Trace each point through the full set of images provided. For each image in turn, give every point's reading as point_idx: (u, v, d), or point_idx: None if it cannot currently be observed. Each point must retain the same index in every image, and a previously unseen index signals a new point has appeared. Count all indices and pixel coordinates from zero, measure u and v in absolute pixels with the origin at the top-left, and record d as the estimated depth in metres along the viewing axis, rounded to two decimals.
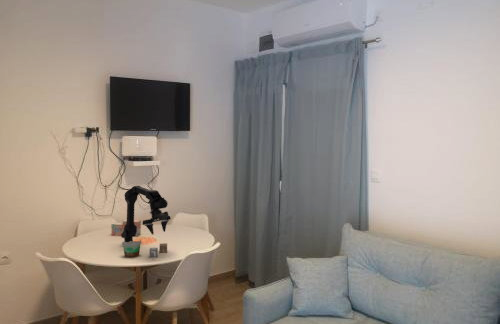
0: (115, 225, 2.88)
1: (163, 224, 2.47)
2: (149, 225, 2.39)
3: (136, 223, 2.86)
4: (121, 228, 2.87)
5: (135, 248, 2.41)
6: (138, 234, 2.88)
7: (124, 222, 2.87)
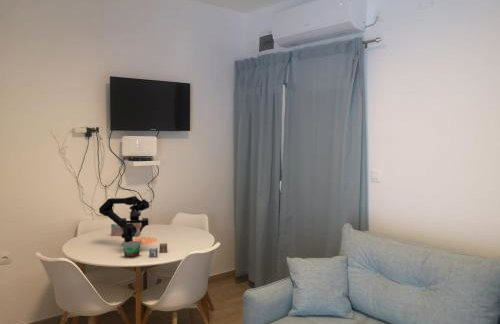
0: (115, 225, 2.88)
1: (141, 226, 2.54)
2: None
3: (136, 223, 2.86)
4: (120, 228, 2.87)
5: (135, 248, 2.41)
6: (138, 234, 2.88)
7: None
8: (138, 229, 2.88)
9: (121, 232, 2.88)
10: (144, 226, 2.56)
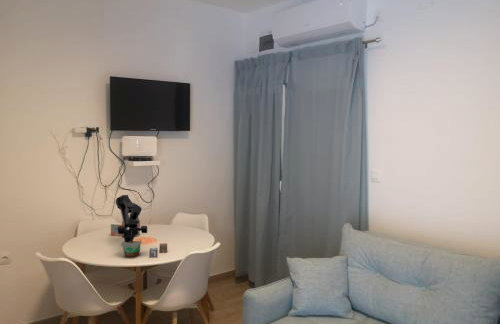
0: (114, 225, 2.88)
1: None
2: None
3: None
4: None
5: (135, 248, 2.40)
6: (137, 234, 2.88)
7: (123, 222, 2.87)
8: None
9: None
10: (136, 234, 2.47)
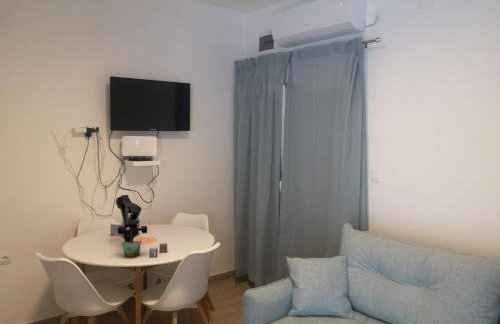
0: (114, 225, 2.88)
1: None
2: None
3: None
4: None
5: (135, 248, 2.40)
6: None
7: (123, 222, 2.87)
8: None
9: None
10: (136, 234, 2.47)
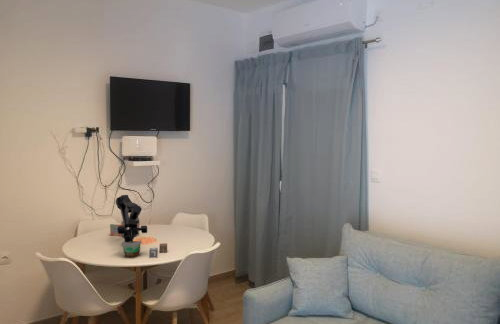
0: (114, 225, 2.87)
1: None
2: None
3: None
4: None
5: (135, 248, 2.41)
6: (137, 234, 2.88)
7: (123, 222, 2.87)
8: None
9: None
10: (136, 234, 2.47)
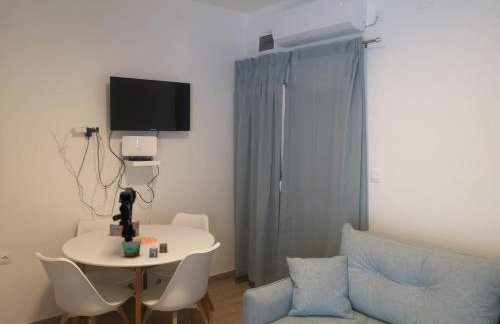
0: (113, 225, 2.87)
1: None
2: None
3: (134, 223, 2.86)
4: (119, 228, 2.87)
5: (135, 248, 2.41)
6: (136, 234, 2.88)
7: None
8: (136, 229, 2.88)
9: (119, 232, 2.87)
10: (129, 224, 2.48)
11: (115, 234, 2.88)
